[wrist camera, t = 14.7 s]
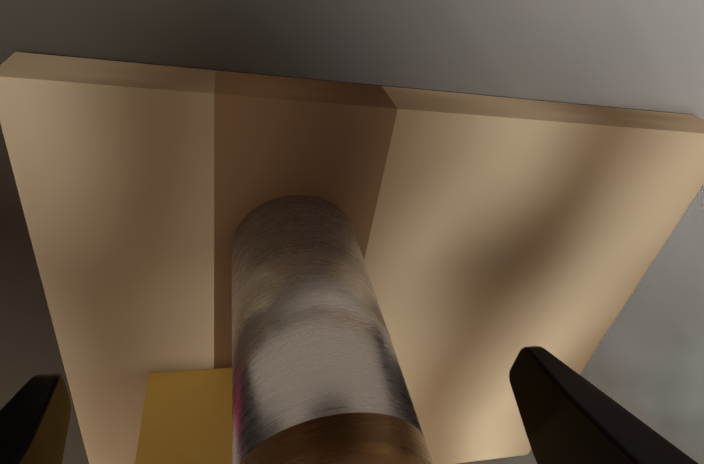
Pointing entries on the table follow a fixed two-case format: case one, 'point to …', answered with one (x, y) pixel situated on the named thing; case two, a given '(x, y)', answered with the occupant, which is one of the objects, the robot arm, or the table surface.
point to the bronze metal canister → (313, 346)
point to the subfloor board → (357, 204)
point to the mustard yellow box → (187, 418)
